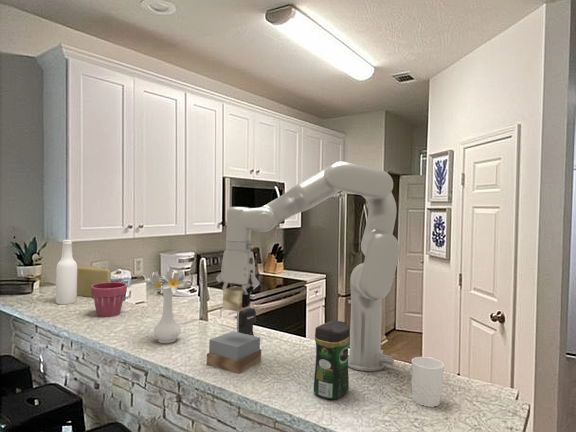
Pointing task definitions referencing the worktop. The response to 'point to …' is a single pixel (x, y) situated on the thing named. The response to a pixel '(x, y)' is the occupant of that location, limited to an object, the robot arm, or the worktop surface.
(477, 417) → the worktop surface
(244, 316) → the battery
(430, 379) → the white cup
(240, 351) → the tower top
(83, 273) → the cheese
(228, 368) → the tower base
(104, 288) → the plant pot
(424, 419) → the worktop surface
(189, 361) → the worktop surface
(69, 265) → the alcohol
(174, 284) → the flower vase
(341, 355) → the coffee jar
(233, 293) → the birch cube
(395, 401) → the worktop surface
